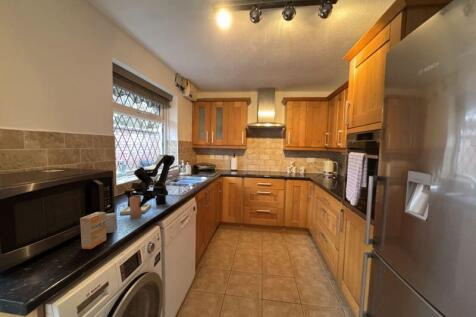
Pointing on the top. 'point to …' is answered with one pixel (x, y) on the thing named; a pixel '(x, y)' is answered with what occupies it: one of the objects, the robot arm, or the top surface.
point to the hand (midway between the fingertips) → (134, 206)
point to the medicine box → (111, 222)
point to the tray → (143, 209)
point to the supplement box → (93, 230)
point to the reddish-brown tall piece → (135, 207)
